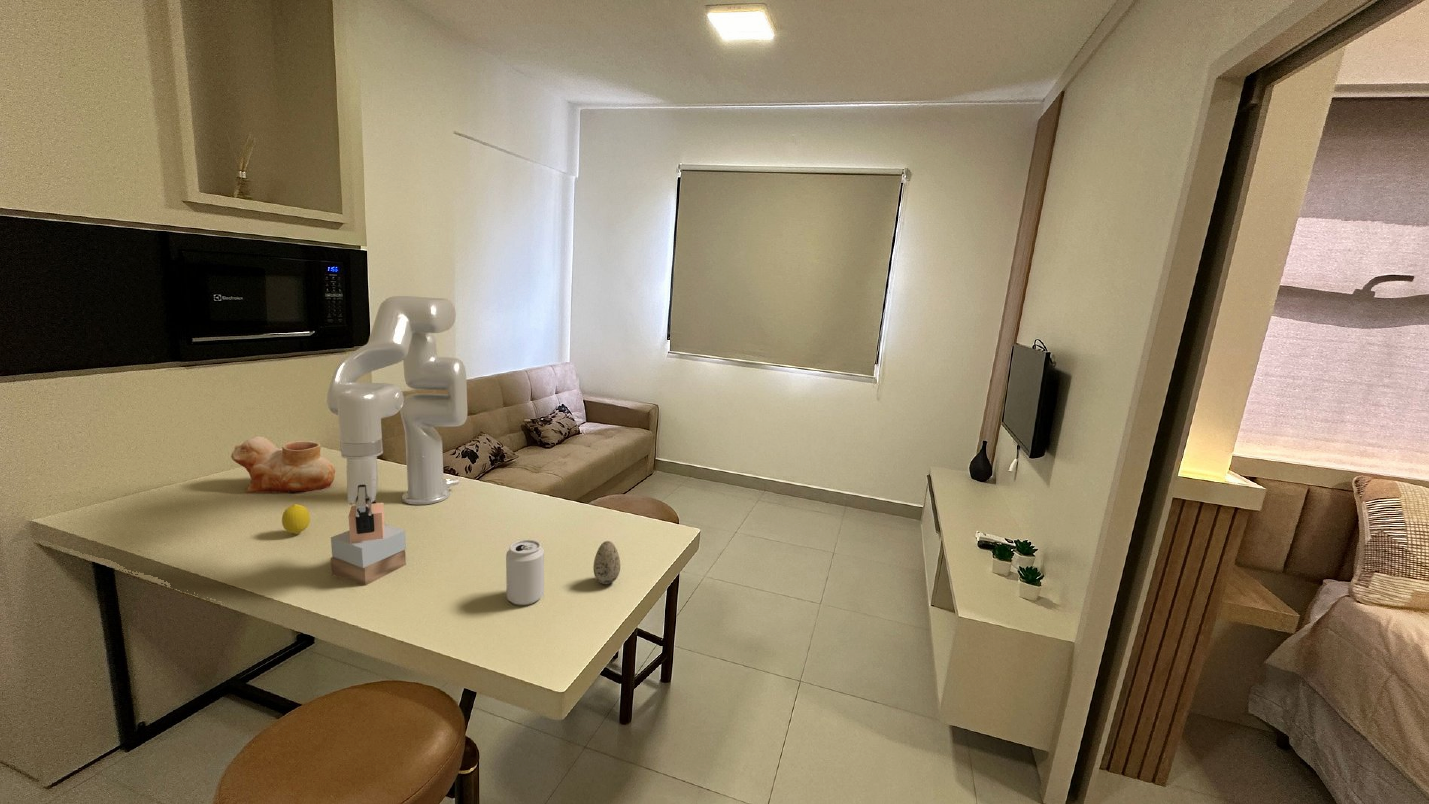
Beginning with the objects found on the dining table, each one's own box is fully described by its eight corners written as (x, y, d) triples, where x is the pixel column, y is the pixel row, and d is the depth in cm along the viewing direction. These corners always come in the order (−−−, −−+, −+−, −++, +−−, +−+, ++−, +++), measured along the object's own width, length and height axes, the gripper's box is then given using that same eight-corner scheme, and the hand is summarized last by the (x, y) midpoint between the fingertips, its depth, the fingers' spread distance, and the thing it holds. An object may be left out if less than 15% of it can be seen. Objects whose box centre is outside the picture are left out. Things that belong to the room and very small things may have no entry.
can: (512, 587, 119) (511, 536, 117) (547, 588, 120) (547, 537, 117) (502, 607, 112) (501, 553, 109) (539, 607, 112) (539, 553, 110)
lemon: (296, 540, 133) (293, 509, 132) (277, 537, 134) (274, 506, 133) (316, 531, 138) (314, 501, 137) (298, 528, 139) (295, 498, 138)
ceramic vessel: (255, 477, 171) (250, 430, 168) (345, 479, 174) (342, 433, 171) (222, 493, 157) (215, 443, 154) (320, 495, 161) (316, 446, 158)
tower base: (373, 557, 129) (372, 539, 128) (406, 566, 126) (405, 548, 125) (332, 576, 119) (330, 557, 119) (365, 587, 116) (364, 567, 115)
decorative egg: (621, 588, 122) (622, 546, 120) (594, 590, 120) (595, 548, 118) (618, 574, 127) (619, 534, 125) (592, 576, 125) (593, 536, 123)
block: (353, 531, 122) (351, 505, 120) (384, 527, 124) (383, 502, 123) (350, 542, 116) (348, 516, 115) (383, 538, 119) (381, 512, 118)
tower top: (375, 538, 128) (374, 521, 127) (406, 549, 124) (405, 530, 124) (332, 556, 119) (330, 537, 118) (363, 567, 115) (361, 548, 114)
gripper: (345, 437, 122) (351, 512, 126) (335, 461, 107) (341, 545, 111) (384, 435, 126) (389, 508, 129) (379, 458, 111) (384, 539, 114)
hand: (367, 525), depth 120 cm, fingers open, 6 cm apart
